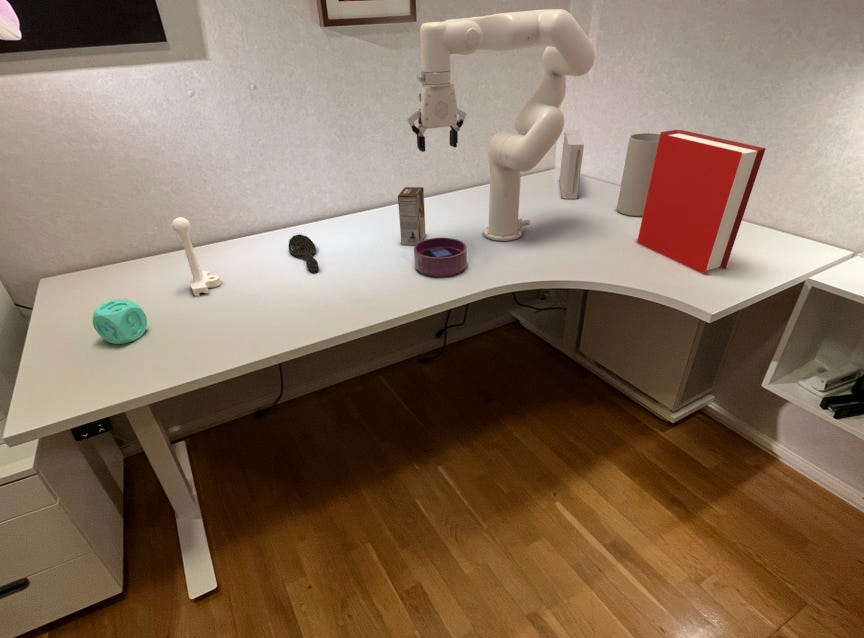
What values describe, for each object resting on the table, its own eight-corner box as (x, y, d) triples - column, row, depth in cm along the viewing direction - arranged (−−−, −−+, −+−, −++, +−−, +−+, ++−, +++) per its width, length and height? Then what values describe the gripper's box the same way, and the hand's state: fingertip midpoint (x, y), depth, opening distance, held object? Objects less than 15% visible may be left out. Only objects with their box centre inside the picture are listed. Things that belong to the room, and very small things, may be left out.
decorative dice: (126, 325, 126) (113, 296, 121) (152, 329, 124) (140, 300, 119) (100, 342, 120) (86, 312, 115) (127, 346, 118) (114, 317, 113)
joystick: (195, 279, 146) (172, 212, 134) (222, 276, 148) (202, 208, 136) (191, 297, 137) (166, 226, 126) (219, 292, 139) (198, 222, 127)
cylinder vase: (609, 209, 184) (621, 136, 170) (635, 203, 188) (649, 131, 174) (633, 219, 175) (649, 142, 160) (660, 213, 179) (678, 138, 164)
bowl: (452, 252, 156) (452, 234, 153) (475, 271, 145) (476, 251, 141) (407, 262, 151) (406, 243, 148) (427, 282, 140) (427, 262, 137)
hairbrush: (299, 267, 144) (284, 234, 162) (301, 278, 146) (286, 244, 165) (328, 261, 147) (309, 230, 165) (329, 273, 149) (311, 240, 167)
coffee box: (407, 234, 170) (404, 186, 161) (426, 235, 169) (424, 186, 160) (400, 244, 163) (397, 195, 153) (420, 245, 162) (417, 195, 152)
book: (725, 268, 141) (765, 148, 123) (704, 274, 139) (742, 152, 120) (653, 236, 162) (678, 129, 143) (634, 241, 159) (657, 132, 141)
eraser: (442, 258, 151) (441, 246, 149) (452, 267, 146) (452, 254, 143) (428, 261, 149) (427, 249, 147) (438, 270, 144) (438, 257, 142)
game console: (561, 199, 195) (567, 144, 184) (558, 179, 217) (564, 129, 206) (576, 199, 194) (584, 144, 183) (572, 179, 216) (578, 129, 205)
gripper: (411, 83, 125) (414, 155, 135) (472, 77, 131) (471, 147, 141) (400, 80, 131) (404, 149, 141) (459, 75, 136) (459, 142, 146)
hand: (437, 148), depth 141 cm, fingers open, 9 cm apart
